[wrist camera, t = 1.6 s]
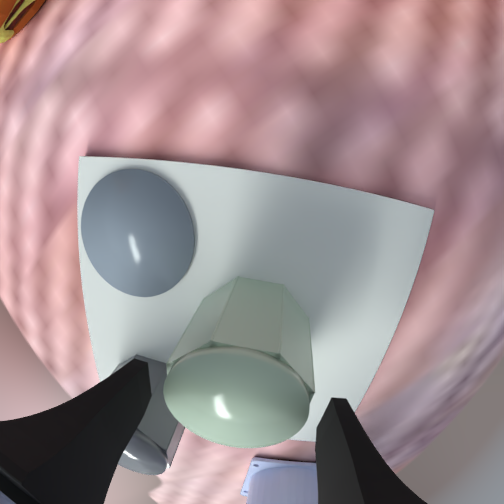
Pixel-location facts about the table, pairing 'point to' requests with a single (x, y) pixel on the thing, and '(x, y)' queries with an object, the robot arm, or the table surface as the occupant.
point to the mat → (270, 268)
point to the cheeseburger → (16, 16)
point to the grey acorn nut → (153, 428)
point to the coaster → (137, 232)
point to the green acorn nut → (243, 367)
